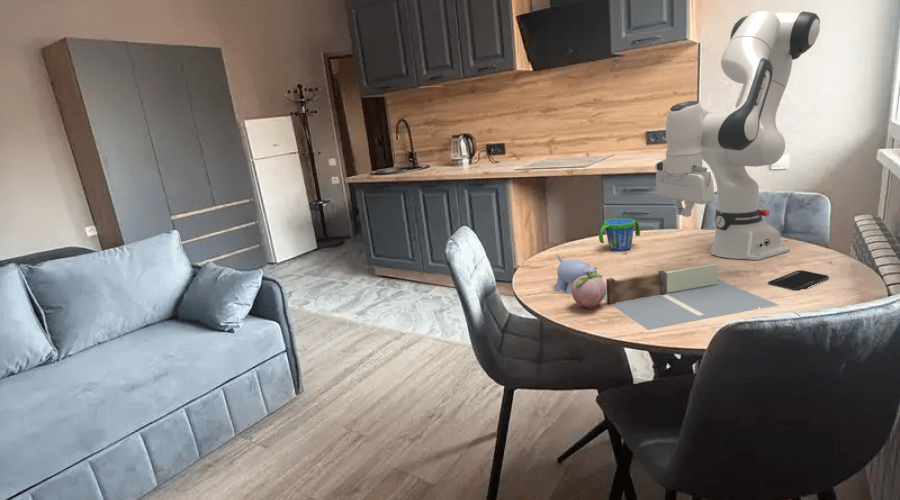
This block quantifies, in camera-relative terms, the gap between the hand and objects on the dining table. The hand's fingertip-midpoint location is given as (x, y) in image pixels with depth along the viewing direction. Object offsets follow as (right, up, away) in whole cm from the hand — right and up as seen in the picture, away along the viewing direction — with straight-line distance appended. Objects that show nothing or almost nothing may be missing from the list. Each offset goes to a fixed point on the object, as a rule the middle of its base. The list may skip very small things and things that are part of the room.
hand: (683, 215), depth 136 cm
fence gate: (+1, -20, -2) cm, 20 cm away
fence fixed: (-14, -22, -5) cm, 27 cm away
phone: (+28, -19, -5) cm, 34 cm away
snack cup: (-3, -9, +42) cm, 44 cm away
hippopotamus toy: (-27, -21, +8) cm, 35 cm away
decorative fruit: (-28, -25, -6) cm, 38 cm away
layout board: (-5, -23, -8) cm, 24 cm away
